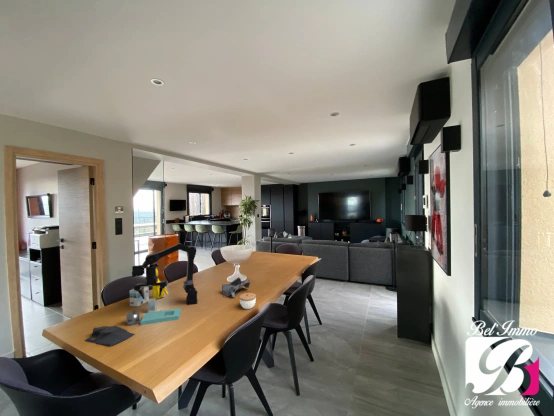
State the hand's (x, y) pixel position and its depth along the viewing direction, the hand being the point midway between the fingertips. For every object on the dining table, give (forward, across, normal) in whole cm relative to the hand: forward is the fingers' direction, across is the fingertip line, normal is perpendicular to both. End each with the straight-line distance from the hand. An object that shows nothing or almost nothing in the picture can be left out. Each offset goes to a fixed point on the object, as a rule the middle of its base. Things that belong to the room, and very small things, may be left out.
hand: (152, 298), depth 146 cm
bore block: (+9, -8, +12) cm, 17 cm away
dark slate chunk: (+9, +14, +26) cm, 31 cm away
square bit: (+9, 0, 0) cm, 9 cm away
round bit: (+9, +7, +13) cm, 17 cm away
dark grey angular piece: (+10, -56, -14) cm, 58 cm away
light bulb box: (+9, +12, -18) cm, 23 cm away
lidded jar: (+9, -60, +15) cm, 62 cm away
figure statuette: (+9, +2, -24) cm, 26 cm away
